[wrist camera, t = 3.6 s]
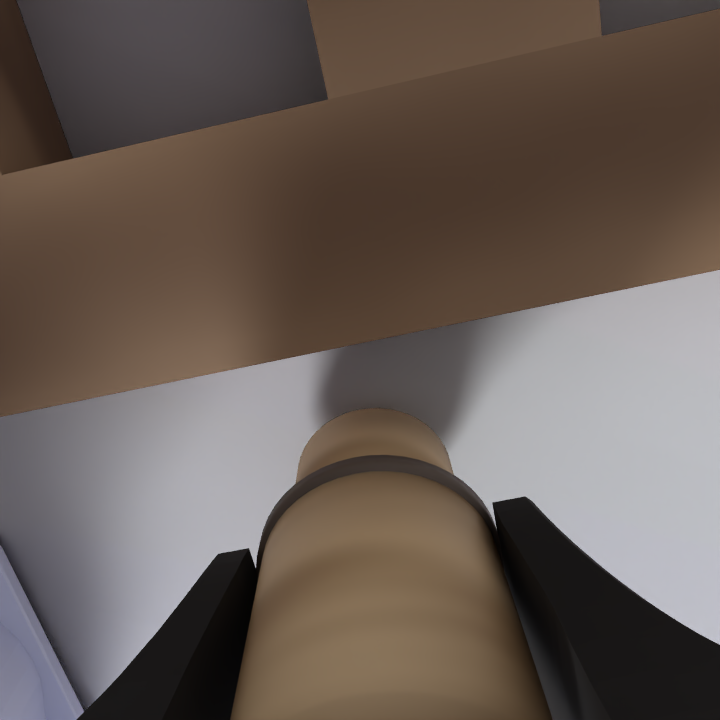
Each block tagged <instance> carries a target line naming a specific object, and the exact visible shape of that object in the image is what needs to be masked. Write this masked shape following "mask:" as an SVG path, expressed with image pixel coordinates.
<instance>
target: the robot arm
mask: <svg viewBox="0 0 720 720" xmlns="http://www.w3.org/2000/svg"><path fill="white" fill-rule="evenodd" d="M493 509H494V515H495V521H496V527H497V533H498V536H499V540H500V546H501V552H502V558H503V564H504V571H505V574H506V577H507V580H508V584H509V587H510V590H511V593H512V596H513V599H514V602H515V605H516V608H517V611H518V614H519V617H520V620H521V623H522V626H523V630H524V633H525V636H526V639H527V642H528V645H529V648H530V651H531V654H532V657H533V660H534V663H535V666H536V669H537V673H538V676H539V679H540V682H541V685H542V688H543V691H544V694H545V697H546V700H547V703H548V706H549V709H550V712H551V715H552V718H553V720H720V645H719V644H717V643H715V642H713V641H711V640H709V639H707V638H705V637H704V636H702V635H700V634H698V633H696V632H695V631H693V630H691V629H690V628H688V627H686V626H684V625H683V624H681V623H679V622H678V621H676V620H675V619H673V618H672V617H670V616H669V615H667V614H665V613H664V612H662V611H661V610H659V609H658V608H656V607H655V606H653V605H652V604H650V603H649V602H647V601H646V600H645V599H643V598H642V597H640V596H639V595H638V594H636V593H635V592H633V591H632V590H631V589H629V588H628V587H627V586H625V585H624V584H623V583H621V582H620V581H619V580H618V579H616V578H615V577H614V576H612V575H611V574H610V573H609V572H607V571H606V570H605V569H604V568H602V567H601V566H600V565H599V564H597V563H596V562H595V561H594V560H593V559H592V558H591V557H589V556H588V555H587V554H586V553H585V552H584V551H582V550H581V549H580V548H579V547H578V546H577V545H575V544H574V543H573V542H572V541H571V540H570V539H569V538H568V537H567V536H566V535H565V534H564V533H562V532H561V531H560V530H559V529H558V528H557V527H556V526H555V525H554V524H553V523H552V522H551V521H550V520H549V519H548V518H547V517H546V516H545V515H544V514H543V513H542V512H541V511H540V509H539V508H538V507H537V506H536V505H535V504H534V503H533V502H532V501H531V500H530V499H528V498H527V497H520V498H515V499H510V500H504V501H499V502H493ZM256 587H257V575H256V568H255V565H254V562H253V559H252V556H251V553H250V550H249V548H248V549H242V550H237V551H232V552H226V553H221V554H218V555H217V556H216V557H215V558H214V560H213V561H212V562H211V563H210V565H209V566H208V567H207V569H206V570H205V571H204V572H203V574H202V575H201V576H200V578H199V579H198V580H197V582H196V583H195V584H194V586H193V587H192V588H191V590H190V591H189V592H188V593H187V595H186V596H185V597H184V599H183V600H182V601H181V603H180V604H179V605H178V606H177V608H176V609H175V610H174V611H173V613H172V614H171V615H170V616H169V618H168V619H167V620H166V622H165V623H164V624H163V625H162V627H161V628H160V629H159V630H158V632H157V633H156V634H155V635H154V636H153V638H152V639H151V640H150V641H149V642H148V643H147V644H146V646H145V647H144V648H143V649H142V650H141V651H140V653H139V654H138V655H137V656H136V657H135V658H134V660H133V661H132V662H131V663H130V664H129V665H128V666H127V668H126V669H125V670H124V671H123V672H122V673H121V675H120V676H119V677H118V678H117V679H116V680H115V681H114V682H113V683H112V684H111V685H110V686H109V687H108V688H107V690H106V691H105V692H104V693H103V694H102V695H101V696H100V697H99V698H98V699H97V700H96V701H95V702H94V703H93V704H92V705H91V706H90V707H89V708H88V709H87V710H86V711H85V712H84V710H83V708H82V706H81V704H80V702H79V700H78V698H77V696H76V694H75V692H74V690H73V688H72V686H71V684H70V682H69V680H68V678H67V676H66V674H65V672H64V670H63V668H62V666H61V664H60V662H59V660H58V658H57V656H56V654H55V652H54V650H53V648H52V646H51V644H50V642H49V640H48V638H47V636H46V634H45V632H44V630H43V628H42V626H41V624H40V622H39V620H38V618H37V616H36V614H35V612H34V610H33V608H32V606H31V604H30V602H29V600H28V598H27V596H26V594H25V592H24V590H23V588H22V586H21V584H20V582H19V580H18V578H17V576H16V574H15V572H14V570H13V568H12V566H11V564H10V562H9V560H8V558H7V556H6V554H5V552H4V550H3V548H2V547H1V546H0V720H230V718H231V713H232V708H233V703H234V698H235V693H236V688H237V683H238V678H239V673H240V668H241V663H242V658H243V653H244V648H245V643H246V638H247V633H248V628H249V623H250V618H251V613H252V608H253V603H254V598H255V593H256Z"/></svg>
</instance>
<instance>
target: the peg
mask: <svg viewBox="0 0 720 720" xmlns="http://www.w3.org/2000/svg"><path fill="white" fill-rule="evenodd" d="M256 575H257V587H256V593H255V598H254V603H253V608H252V613H251V618H250V623H249V628H248V633H247V638H246V643H245V648H244V653H243V658H242V663H241V668H240V673H239V678H238V683H237V688H236V693H235V698H234V703H233V708H232V713H231V718H230V720H553V719H552V715H551V712H550V709H549V706H548V703H547V700H546V697H545V694H544V691H543V688H542V685H541V682H540V679H539V676H538V673H537V669H536V666H535V663H534V660H533V657H532V654H531V651H530V648H529V645H528V642H527V639H526V636H525V633H524V630H523V626H522V623H521V620H520V617H519V614H518V611H517V608H516V605H515V602H514V599H513V596H512V593H511V590H510V587H509V584H508V580H507V577H506V574H505V571H504V564H503V558H502V552H501V546H500V540H499V536H498V533H497V529H496V526H495V524H494V521H493V519H492V517H491V514H490V512H489V511H488V509H487V508H486V506H485V504H484V503H483V501H482V500H481V499H480V498H479V497H478V495H477V494H476V493H475V492H474V491H473V490H472V489H471V488H470V487H469V486H468V485H467V484H465V483H464V482H463V481H462V480H460V479H459V478H457V477H456V476H454V474H453V470H452V467H451V463H450V459H449V456H448V453H447V451H446V448H445V446H444V445H443V443H442V441H441V440H440V438H439V437H438V436H437V435H436V434H435V432H434V431H433V430H432V429H430V428H429V427H428V426H427V425H426V424H424V423H423V422H421V421H420V420H418V419H417V418H415V417H413V416H411V415H408V414H406V413H403V412H400V411H396V410H391V409H383V408H367V409H360V410H355V411H352V412H348V413H345V414H343V415H340V416H338V417H336V418H334V419H333V420H331V421H329V422H328V423H326V424H325V425H324V426H322V427H321V428H320V429H319V430H318V431H317V432H316V433H315V434H314V435H313V436H312V437H311V439H310V440H309V441H308V443H307V445H306V446H305V448H304V450H303V452H302V455H301V457H300V461H299V465H298V471H297V478H296V484H295V485H294V486H293V487H292V488H291V489H290V490H288V491H287V492H286V493H285V494H284V495H283V497H282V498H281V499H280V500H279V502H278V503H277V504H276V505H275V507H274V509H273V510H272V512H271V514H270V515H269V517H268V519H267V522H266V524H265V526H264V529H263V532H262V536H261V541H260V545H259V550H258V555H257V564H256Z"/></svg>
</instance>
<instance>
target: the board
mask: <svg viewBox="0 0 720 720" xmlns="http://www.w3.org/2000/svg"><path fill="white" fill-rule="evenodd" d="M307 4H308V9H309V13H310V18H311V22H312V27H313V32H314V36H315V41H316V46H317V50H318V55H319V59H320V64H321V69H322V73H323V78H324V82H325V87H326V92H327V96H328V100H323V101H319V102H315V103H311V104H306V105H302V106H298V107H293V108H289V109H285V110H280V111H276V112H272V113H267V114H263V115H259V116H254V117H250V118H246V119H242V120H237V121H233V122H229V123H224V124H220V125H216V126H211V127H207V128H203V129H198V130H194V131H190V132H186V133H181V134H177V135H173V136H168V137H164V138H160V139H155V140H151V141H147V142H142V143H138V144H134V145H129V146H125V147H121V148H117V149H112V150H108V151H104V152H99V153H95V154H91V155H86V156H82V157H78V158H72V155H71V152H70V150H69V147H68V144H67V141H66V138H65V136H64V133H63V130H62V127H61V125H60V122H59V119H58V116H57V113H56V111H55V108H54V105H53V102H52V99H51V97H50V94H49V91H48V88H47V86H46V83H45V80H44V77H43V74H42V72H41V69H40V66H39V63H38V60H37V58H36V55H35V52H34V49H33V47H32V44H31V41H30V38H29V35H28V33H27V30H26V27H25V24H24V21H23V19H22V16H21V13H20V10H19V8H18V5H17V2H16V0H0V417H3V416H7V415H12V414H17V413H22V412H27V411H32V410H37V409H42V408H47V407H51V406H56V405H61V404H66V403H71V402H76V401H81V400H86V399H90V398H95V397H100V396H105V395H110V394H115V393H120V392H125V391H130V390H134V389H139V388H144V387H149V386H154V385H159V384H164V383H169V382H174V381H178V380H183V379H188V378H193V377H198V376H203V375H208V374H213V373H217V372H222V371H227V370H232V369H237V368H242V367H247V366H252V365H257V364H261V363H266V362H271V361H276V360H281V359H286V358H291V357H296V356H301V355H305V354H310V353H315V352H320V351H325V350H330V349H335V348H340V347H344V346H349V345H354V344H359V343H364V342H369V341H374V340H379V339H384V338H388V337H393V336H398V335H403V334H408V333H413V332H418V331H423V330H428V329H432V328H437V327H442V326H447V325H452V324H457V323H462V322H467V321H471V320H476V319H481V318H486V317H491V316H496V315H501V314H506V313H511V312H515V311H520V310H525V309H530V308H535V307H540V306H545V305H550V304H555V303H559V302H564V301H569V300H574V299H579V298H584V297H589V296H594V295H598V294H603V293H608V292H613V291H618V290H623V289H628V288H633V287H638V286H642V285H647V284H652V283H657V282H662V281H667V280H672V279H677V278H682V277H686V276H691V275H696V274H701V273H706V272H711V271H716V270H720V9H716V10H711V11H707V12H703V13H699V14H694V15H690V16H686V17H681V18H677V19H673V20H668V21H664V22H660V23H655V24H651V25H647V26H642V27H638V28H634V29H630V30H625V31H621V32H617V33H612V34H608V35H604V36H602V33H601V19H600V5H599V0H307Z"/></svg>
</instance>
